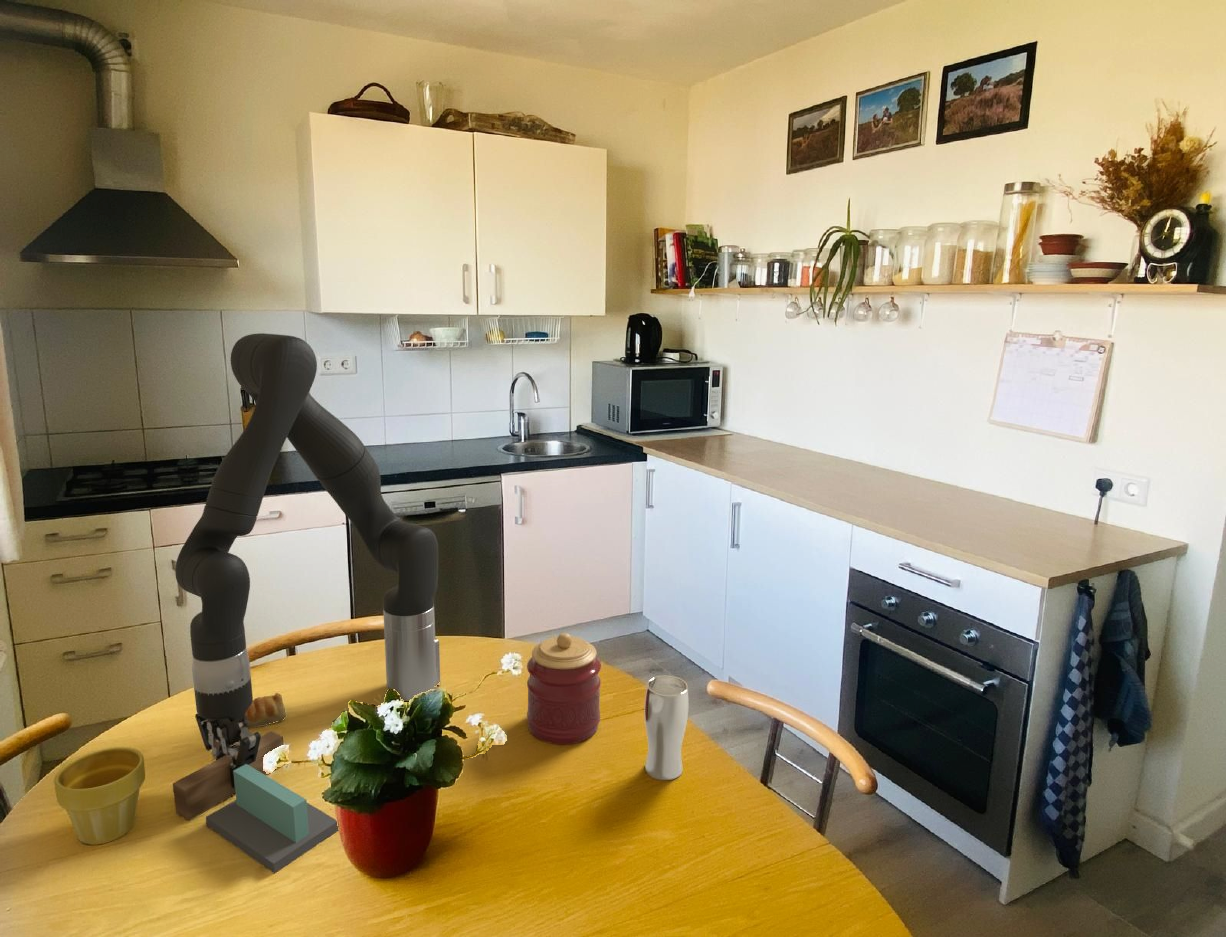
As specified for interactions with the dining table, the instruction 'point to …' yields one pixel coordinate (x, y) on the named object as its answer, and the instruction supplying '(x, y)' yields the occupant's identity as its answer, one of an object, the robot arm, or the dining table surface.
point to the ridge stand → (270, 820)
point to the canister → (563, 690)
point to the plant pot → (101, 792)
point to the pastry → (265, 710)
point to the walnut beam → (215, 781)
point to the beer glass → (665, 725)
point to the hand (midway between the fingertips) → (232, 781)
